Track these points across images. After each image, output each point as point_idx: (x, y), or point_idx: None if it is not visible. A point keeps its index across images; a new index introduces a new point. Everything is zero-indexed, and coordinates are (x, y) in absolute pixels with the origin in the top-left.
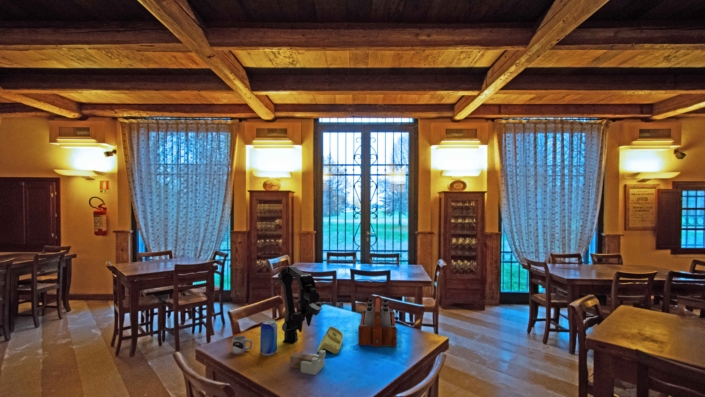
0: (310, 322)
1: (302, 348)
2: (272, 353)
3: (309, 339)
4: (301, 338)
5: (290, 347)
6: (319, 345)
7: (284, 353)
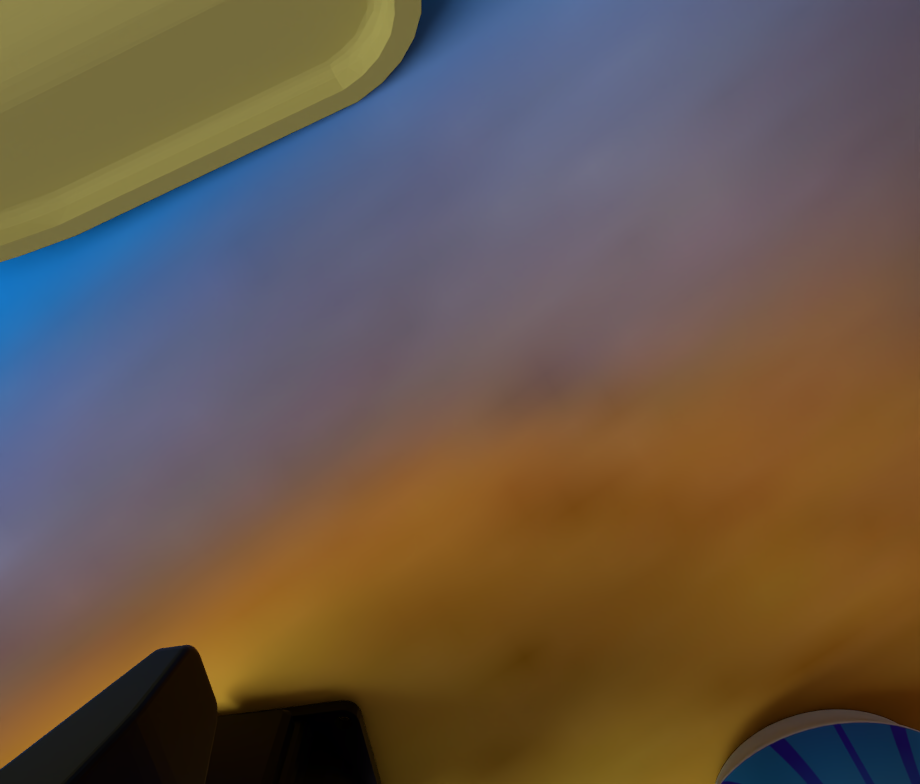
0: (62, 742)
1: (405, 453)
2: (891, 724)
3: (15, 572)
4: None
5: (487, 647)
6: (129, 203)
7: (736, 592)
